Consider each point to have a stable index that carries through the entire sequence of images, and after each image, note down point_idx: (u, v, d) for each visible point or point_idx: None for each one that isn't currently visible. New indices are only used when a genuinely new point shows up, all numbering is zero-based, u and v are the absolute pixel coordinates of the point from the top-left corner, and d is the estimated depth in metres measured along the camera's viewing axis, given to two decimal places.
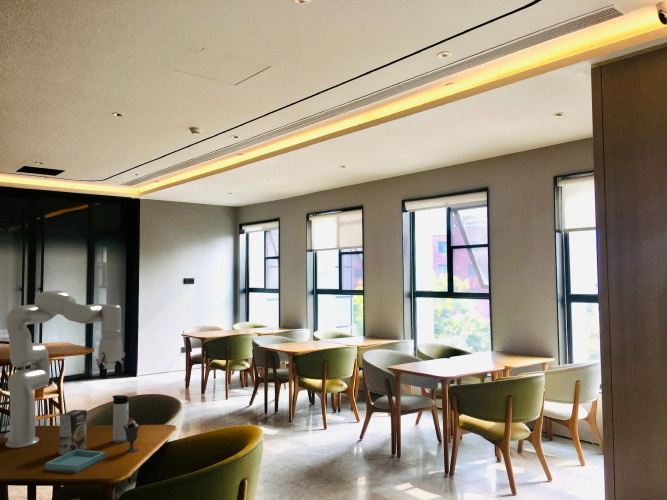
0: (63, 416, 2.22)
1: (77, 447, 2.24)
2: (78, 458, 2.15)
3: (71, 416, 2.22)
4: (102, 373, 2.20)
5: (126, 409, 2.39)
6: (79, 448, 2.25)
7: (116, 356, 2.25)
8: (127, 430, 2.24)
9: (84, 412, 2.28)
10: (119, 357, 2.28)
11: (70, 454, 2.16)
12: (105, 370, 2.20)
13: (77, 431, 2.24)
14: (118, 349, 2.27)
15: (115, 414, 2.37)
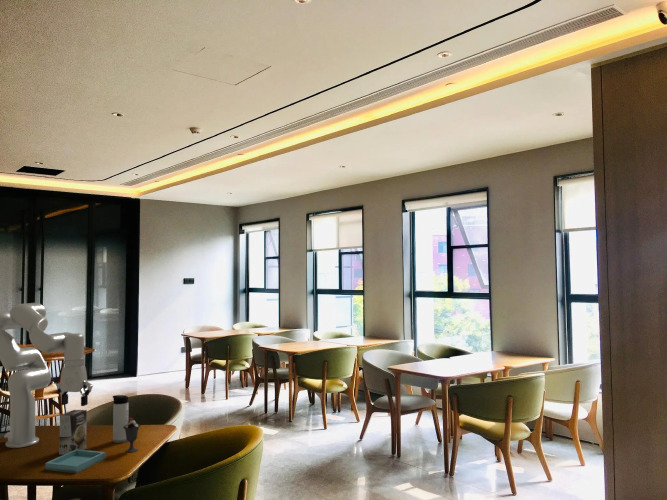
0: (63, 416, 2.22)
1: (77, 447, 2.24)
2: (78, 458, 2.15)
3: (71, 416, 2.22)
4: (86, 399, 2.25)
5: (126, 409, 2.39)
6: (79, 448, 2.25)
7: None
8: (127, 430, 2.24)
9: (84, 412, 2.28)
10: None
11: (70, 454, 2.16)
12: None
13: (77, 431, 2.24)
14: None
15: (115, 414, 2.37)
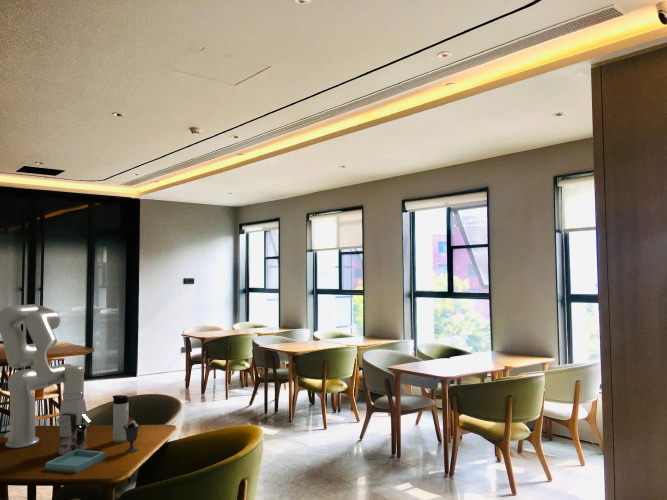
0: (63, 416, 2.22)
1: (77, 447, 2.24)
2: (78, 458, 2.15)
3: (71, 416, 2.22)
4: (83, 434, 2.25)
5: (126, 409, 2.39)
6: (80, 447, 2.25)
7: None
8: (127, 430, 2.24)
9: None
10: None
11: (70, 454, 2.16)
12: (83, 431, 2.26)
13: (77, 431, 2.24)
14: None
15: (115, 414, 2.37)
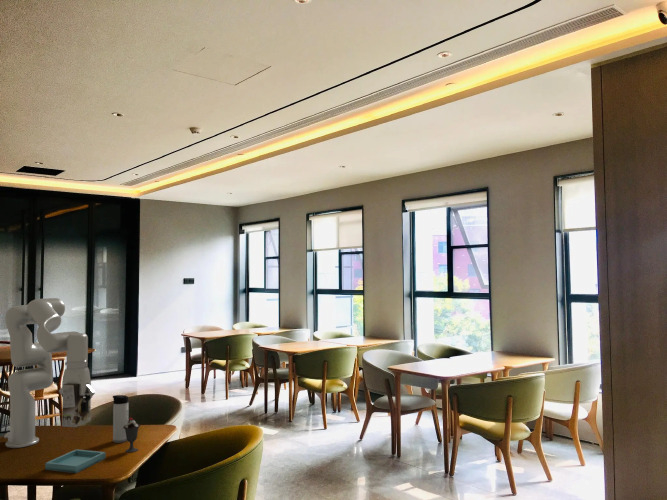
0: (66, 386, 2.09)
1: (81, 419, 2.10)
2: (78, 458, 2.15)
3: (75, 385, 2.08)
4: (87, 406, 2.12)
5: (126, 409, 2.39)
6: (84, 420, 2.12)
7: None
8: (127, 430, 2.24)
9: None
10: None
11: (70, 454, 2.16)
12: (87, 402, 2.13)
13: (81, 402, 2.11)
14: None
15: (115, 414, 2.37)
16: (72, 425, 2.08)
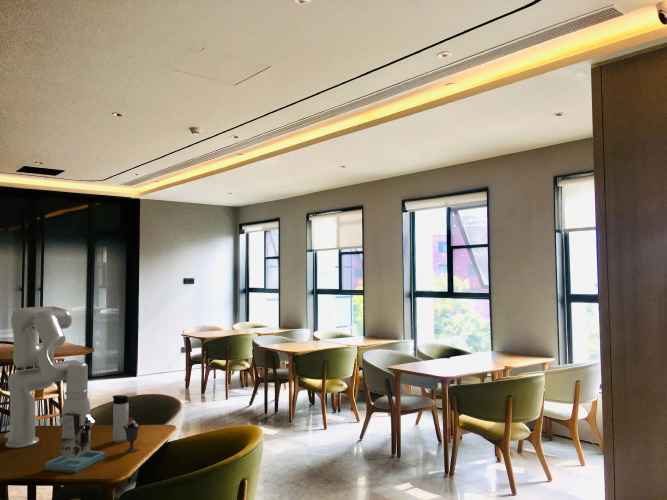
0: (66, 416, 2.08)
1: (81, 449, 2.09)
2: (78, 458, 2.15)
3: (74, 416, 2.07)
4: (87, 436, 2.11)
5: (126, 409, 2.39)
6: (83, 450, 2.11)
7: None
8: (127, 430, 2.24)
9: None
10: None
11: None
12: None
13: (81, 432, 2.09)
14: None
15: (115, 414, 2.37)
16: (72, 456, 2.06)
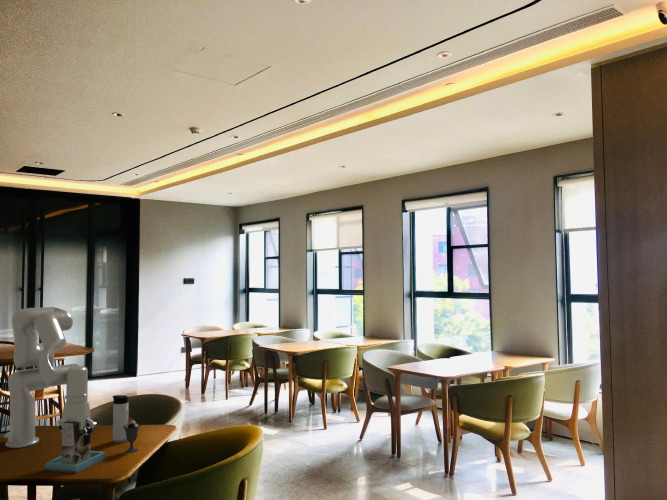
0: (66, 424, 2.08)
1: (80, 457, 2.09)
2: None
3: (74, 424, 2.07)
4: (89, 438, 2.10)
5: (126, 409, 2.39)
6: (83, 458, 2.11)
7: None
8: (127, 430, 2.24)
9: None
10: None
11: None
12: None
13: (81, 440, 2.09)
14: None
15: (115, 414, 2.37)
16: (71, 464, 2.06)
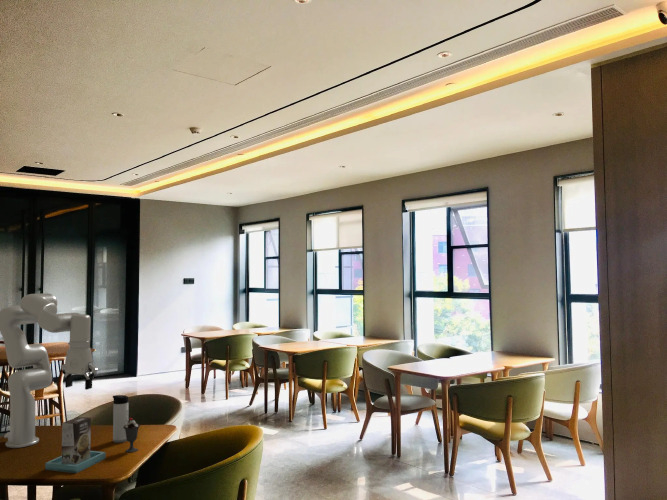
0: (65, 424, 2.08)
1: (80, 457, 2.09)
2: None
3: (74, 424, 2.07)
4: (91, 383, 2.18)
5: (126, 409, 2.39)
6: (83, 458, 2.11)
7: None
8: (127, 430, 2.24)
9: (88, 419, 2.14)
10: None
11: None
12: (91, 380, 2.19)
13: (81, 440, 2.09)
14: None
15: (115, 414, 2.37)
16: (71, 464, 2.06)
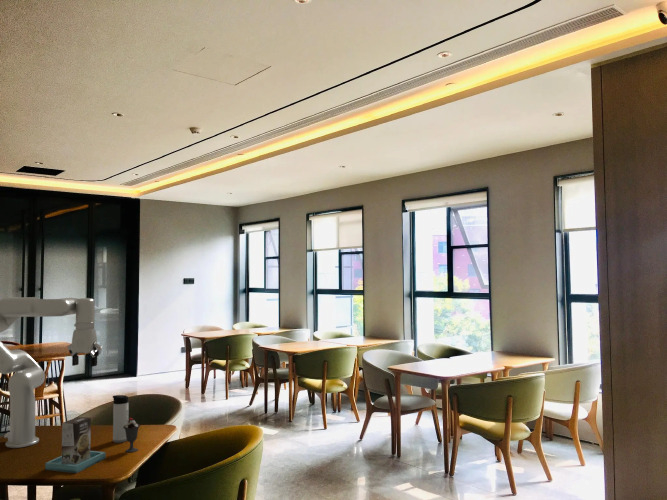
0: (65, 424, 2.08)
1: (80, 457, 2.09)
2: None
3: (74, 424, 2.07)
4: (96, 360, 2.38)
5: (126, 409, 2.39)
6: (83, 458, 2.11)
7: None
8: (127, 430, 2.24)
9: (88, 419, 2.14)
10: None
11: None
12: None
13: (81, 440, 2.09)
14: None
15: (115, 414, 2.37)
16: (71, 464, 2.06)
